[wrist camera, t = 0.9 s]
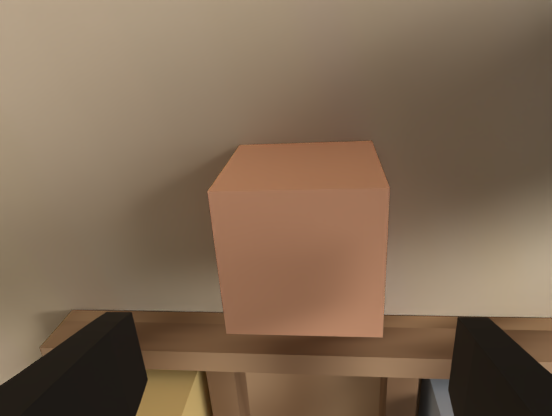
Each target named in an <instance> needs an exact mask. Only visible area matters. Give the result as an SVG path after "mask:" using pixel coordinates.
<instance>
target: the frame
mask: <svg viewBox="0 0 552 416" xmlns="http://www.w3.org/2000/svg"><path fill="white" fill-rule="evenodd" d="M106 312H132V315H133V319H134V323H135V327H136V332H137V336H138V340H139V344H140V348H141V353H142V357H143V361H144V365H145V369H157V370H187V371H206V375H207V381H208V387H209V393H210V399H211V405H212V411H213V416H418V413H419V403H420V393H421V383H422V379H450V371H451V363H452V356H453V348H454V341H455V333H456V326H457V318H458V317H451V316H391V315H384V321H383V338H382V337H339V336H297V335H254V334H226V327H225V319H224V313H212V312H152V311H93V310H72V311H71V312H70V313H69V314H68V316H67V317H66V318H65V319H64V320H63V321H62V323H61V324H60V325H59V326H58V327H57V328H56V329H55V331H54V332H53V333H52V334H51V335H50V336H49V337H48V339H47V340H46V341H45V342H44V343H43V344H42V345H41V347H40V351H41V353H42V356H44V355H45V354H47V353H48V352H50V351H51V350H52V349H54V348H55V347H57V346H58V345H59V344H61V343H62V342H64V341H65V340H66V339H68V338H69V337H70V336H72V335H73V334H75V333H76V332H77V331H79V330H80V329H82V328H83V327H85V326H86V325H87V324H89V323H90V322H92V321H93V320H95V319H96V318H98V317H99V316H101V315H102V314H104V313H106ZM488 318H490V319H491V320H492V321H493V322H494V323H495V324H496V325H498V326H499V327H500V328H501V329H502V330H503V331H504V332H505V333H506V334H508V335H509V336H510V337H511V338H512V339H513V340H514V341H515V342H516V343H517V344H519V345H520V346H521V347H522V348H523V349H524V350H525V351H526V352H527V353H529V354H530V355H531V356H532V357H533V358H534V359H535V360H536V361H537V362H539V363H540V364H541V365H542V366H543V367H544V368H545V369H547V370H548V371H549V372H550V373H551V374H552V318H511V317H488Z"/></svg>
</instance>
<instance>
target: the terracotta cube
mask: <svg viewBox="0 0 552 416" xmlns="http://www.w3.org/2000/svg"><path fill="white" fill-rule="evenodd" d="M207 193H208V200H209V208H210V215H211V223H212V230H213V238H214V245H215V253H216V260H217V267H218V275H219V282H220V290H221V297H222V305H223V312H224V319H225V327H226V334H254V335H297V336H339V337H382V338H383V321H384V300H385V279H386V258H387V237H388V216H389V195H390V187H389V185H388V182H387V179H386V177H385V174H384V171H383V169H382V166H381V163H380V161H379V158H378V156H377V153H376V150H375V148H374V145H373V142H372V141H345V142H314V143H284V144H253V145H239V147H238V148H237V149H236V151H235V152H234V154H233V155H232V157H231V158H230V160H229V161H228V162H227V164H226V165H225V167H224V168H223V170H222V171H221V173H220V174H219V175H218V177H217V178H216V180H215V181H214V183H213V184H212V186H211V187H210V188H209V190H208V191H207Z"/></svg>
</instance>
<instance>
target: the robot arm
mask: <svg viewBox="0 0 552 416" xmlns="http://www.w3.org/2000/svg"><path fill="white" fill-rule="evenodd" d="M147 381H148V378H147V374H146V369H145V365H144V361H143V357H142V353H141V348H140V344H139V340H138V336H137V332H136V327H135V323H134V319H133V315H132V312H106V313H104V314H102V315H101V316H99V317H98V318H96V319H95V320H93V321H92V322H90V323H89V324H87V325H86V326H85V327H83V328H82V329H80V330H79V331H77V332H76V333H75V334H73V335H72V336H70V337H69V338H68V339H66V340H65V341H64V342H62V343H61V344H59V345H58V346H57V347H55V348H54V349H52V350H51V351H50V352H48V353H47V354H45V355H44V356H43V357H41V358H40V359H38V360H37V361H35V362H34V363H33V364H31V365H30V366H28V367H27V368H26V369H24V370H23V371H21V372H20V373H18V374H17V375H16V376H14V377H13V378H11V379H10V380H8V381H7V382H5V383H3V384H2V385H0V416H136V414H137V411H138V408H139V405H140V403H141V399H142V396H143V393H144V390H145V387H146V384H147ZM448 392H449V396H450V401H451V405H452V410H453V414H454V416H552V374H551V373H550V372H549V371H548V370H547V369H545V368H544V367H543V366H542V365H541V364H540V363H539V362H537V361H536V360H535V359H534V358H533V357H532V356H531V355H530V354H529V353H527V352H526V351H525V350H524V349H523V348H522V347H521V346H520V345H519V344H517V343H516V342H515V341H514V340H513V339H512V338H511V337H510V336H509V335H508V334H506V333H505V332H504V331H503V330H502V329H501V328H500V327H499V326H498V325H496V324H495V323H494V322H493V321H492V320H491V319H490V318H488V317H458V318H457V326H456V333H455V341H454V348H453V356H452V363H451V371H450V379H449V386H448Z"/></svg>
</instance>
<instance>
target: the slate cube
mask: <svg viewBox="0 0 552 416" xmlns="http://www.w3.org/2000/svg"><path fill="white" fill-rule="evenodd" d="M448 386H449V379H422V383H421V393H420V403H419V413H418V416H454V414H453V410H452V405H451V401H450V396H449V392H448Z"/></svg>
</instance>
